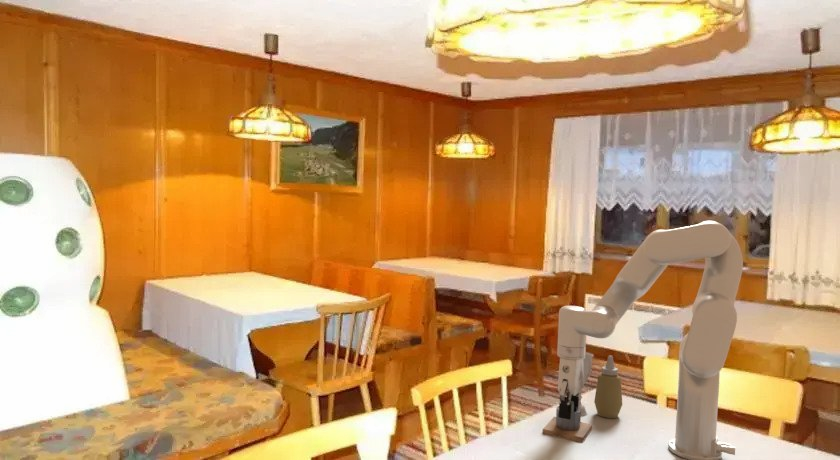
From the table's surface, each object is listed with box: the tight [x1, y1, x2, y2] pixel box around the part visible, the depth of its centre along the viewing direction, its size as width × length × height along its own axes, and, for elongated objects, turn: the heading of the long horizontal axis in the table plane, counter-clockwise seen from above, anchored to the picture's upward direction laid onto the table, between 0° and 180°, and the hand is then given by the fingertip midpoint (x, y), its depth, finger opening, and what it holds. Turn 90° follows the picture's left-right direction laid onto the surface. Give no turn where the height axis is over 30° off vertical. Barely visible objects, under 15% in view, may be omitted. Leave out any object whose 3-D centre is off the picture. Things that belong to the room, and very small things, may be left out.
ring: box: [555, 405, 582, 431], centre depth 168 cm, size 6×6×5 cm
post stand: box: [542, 401, 593, 443], centre depth 168 cm, size 11×11×8 cm
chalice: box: [578, 351, 595, 417], centre depth 182 cm, size 7×7×18 cm
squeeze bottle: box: [593, 355, 623, 419], centre depth 181 cm, size 8×8×18 cm
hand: (568, 413), depth 168 cm, fingers open, 7 cm apart
